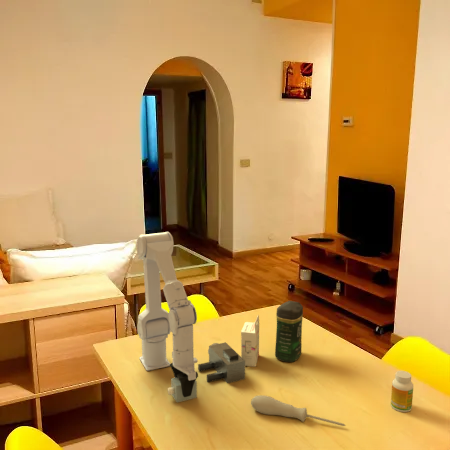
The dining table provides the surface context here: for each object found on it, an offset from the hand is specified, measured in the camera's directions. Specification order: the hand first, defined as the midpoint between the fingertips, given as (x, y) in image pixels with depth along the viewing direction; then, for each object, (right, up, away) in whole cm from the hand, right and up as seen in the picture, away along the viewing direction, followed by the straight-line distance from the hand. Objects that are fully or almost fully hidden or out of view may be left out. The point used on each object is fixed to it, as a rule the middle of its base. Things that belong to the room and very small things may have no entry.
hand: (184, 391), depth 132 cm
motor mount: (+9, +1, +14) cm, 17 cm away
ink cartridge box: (+20, +2, +21) cm, 29 cm away
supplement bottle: (+60, -3, -5) cm, 60 cm away
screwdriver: (+31, -4, -10) cm, 32 cm away
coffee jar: (+33, +3, +24) cm, 41 cm away
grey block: (0, -1, 0) cm, 1 cm away
